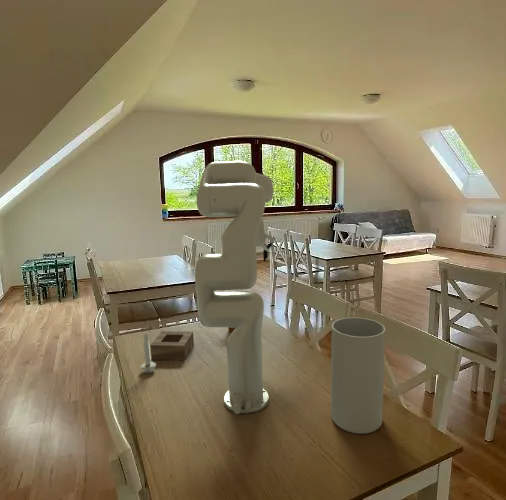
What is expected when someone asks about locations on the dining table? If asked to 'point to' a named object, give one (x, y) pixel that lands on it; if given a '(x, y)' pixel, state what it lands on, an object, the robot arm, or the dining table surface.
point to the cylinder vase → (357, 374)
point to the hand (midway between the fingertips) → (252, 260)
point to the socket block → (172, 345)
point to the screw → (147, 357)
